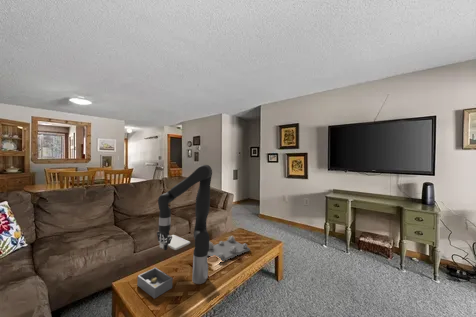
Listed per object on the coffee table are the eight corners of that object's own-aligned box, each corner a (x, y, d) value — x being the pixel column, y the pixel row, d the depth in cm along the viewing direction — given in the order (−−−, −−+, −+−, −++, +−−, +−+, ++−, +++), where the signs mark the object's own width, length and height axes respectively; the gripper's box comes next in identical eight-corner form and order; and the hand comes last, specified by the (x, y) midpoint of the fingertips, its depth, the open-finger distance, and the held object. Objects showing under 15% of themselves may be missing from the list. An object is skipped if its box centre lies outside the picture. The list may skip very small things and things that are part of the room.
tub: (155, 276, 134) (155, 267, 134) (172, 287, 124) (172, 278, 124) (137, 285, 125) (137, 275, 124) (154, 298, 114) (154, 288, 114)
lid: (173, 237, 152) (173, 232, 152) (190, 244, 142) (190, 239, 142) (152, 245, 139) (153, 239, 139) (170, 254, 128) (170, 247, 128)
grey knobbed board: (219, 265, 151) (219, 252, 151) (199, 252, 170) (200, 240, 170) (250, 251, 176) (251, 240, 175) (230, 241, 194) (231, 230, 194)
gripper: (176, 224, 134) (175, 250, 134) (163, 219, 142) (162, 243, 142) (166, 227, 127) (165, 254, 128) (153, 222, 135) (152, 247, 136)
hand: (163, 248), depth 135 cm, fingers closed on lid, 3 cm apart
